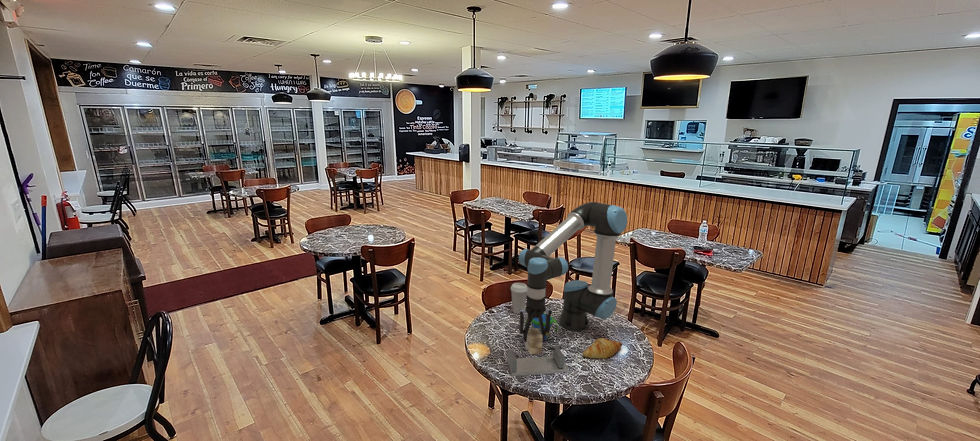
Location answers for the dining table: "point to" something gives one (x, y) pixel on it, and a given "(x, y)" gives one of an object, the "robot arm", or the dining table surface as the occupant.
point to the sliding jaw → (557, 355)
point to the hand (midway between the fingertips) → (533, 347)
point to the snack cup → (536, 324)
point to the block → (535, 341)
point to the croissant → (602, 348)
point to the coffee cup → (518, 296)
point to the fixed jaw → (512, 360)
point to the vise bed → (537, 366)
